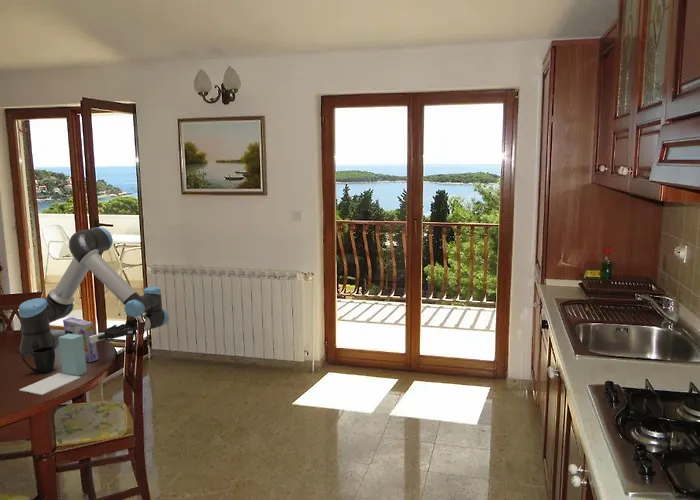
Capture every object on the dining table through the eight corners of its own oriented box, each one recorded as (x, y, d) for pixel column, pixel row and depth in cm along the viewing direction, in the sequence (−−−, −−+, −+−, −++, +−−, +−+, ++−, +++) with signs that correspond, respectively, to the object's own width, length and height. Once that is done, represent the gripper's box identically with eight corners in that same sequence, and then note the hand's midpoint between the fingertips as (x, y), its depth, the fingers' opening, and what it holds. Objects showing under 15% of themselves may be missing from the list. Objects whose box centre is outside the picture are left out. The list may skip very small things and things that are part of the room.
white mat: (19, 390, 213) (18, 389, 213) (58, 373, 229) (58, 373, 229) (42, 395, 208) (41, 394, 208) (80, 377, 224) (80, 376, 224)
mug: (23, 372, 232) (20, 350, 230) (55, 365, 238) (53, 344, 237) (25, 378, 225) (22, 356, 224) (58, 371, 232) (55, 350, 230)
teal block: (62, 374, 229) (58, 337, 226) (72, 369, 233) (68, 333, 231) (76, 376, 226) (72, 339, 223) (86, 372, 230) (82, 335, 228)
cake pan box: (66, 355, 251) (61, 318, 248) (76, 352, 255) (72, 315, 252) (88, 363, 240) (84, 324, 237) (99, 360, 244) (95, 321, 241)
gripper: (147, 335, 251) (99, 351, 231) (129, 330, 258) (81, 346, 238) (145, 319, 250) (98, 333, 230) (127, 315, 257) (80, 329, 237)
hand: (89, 340), depth 234 cm, fingers closed
